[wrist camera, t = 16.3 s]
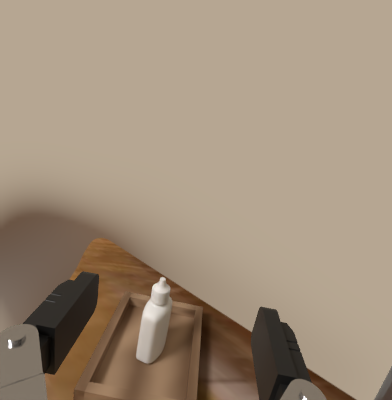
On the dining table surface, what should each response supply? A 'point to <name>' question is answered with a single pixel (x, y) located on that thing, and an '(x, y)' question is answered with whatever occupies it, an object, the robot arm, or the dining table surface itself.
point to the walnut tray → (137, 370)
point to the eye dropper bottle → (154, 323)
